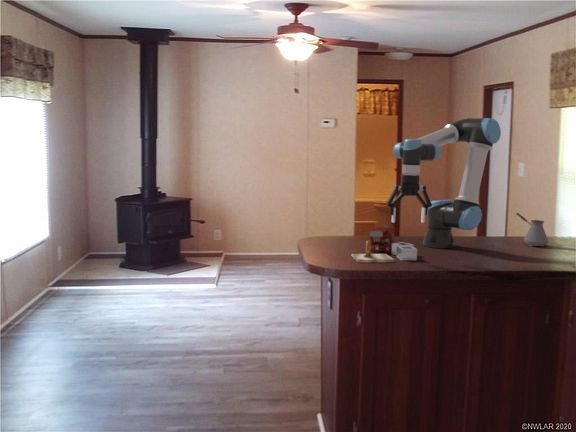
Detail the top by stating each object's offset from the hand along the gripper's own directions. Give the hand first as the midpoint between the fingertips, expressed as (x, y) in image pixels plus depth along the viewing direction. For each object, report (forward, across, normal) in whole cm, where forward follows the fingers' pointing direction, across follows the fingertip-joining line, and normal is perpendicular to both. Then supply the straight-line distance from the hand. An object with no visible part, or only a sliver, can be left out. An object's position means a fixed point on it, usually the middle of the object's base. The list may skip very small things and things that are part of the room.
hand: (408, 222), depth 263 cm
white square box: (+16, 0, 0) cm, 16 cm away
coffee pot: (+16, -78, -33) cm, 86 cm away
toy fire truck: (+17, +7, -16) cm, 24 cm away
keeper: (+16, +16, +1) cm, 23 cm away
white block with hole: (+16, -1, -8) cm, 18 cm away
